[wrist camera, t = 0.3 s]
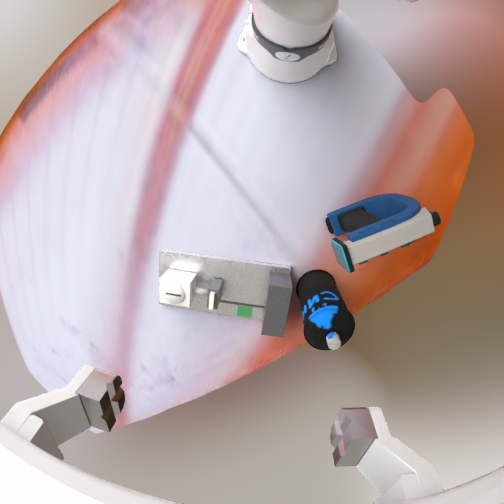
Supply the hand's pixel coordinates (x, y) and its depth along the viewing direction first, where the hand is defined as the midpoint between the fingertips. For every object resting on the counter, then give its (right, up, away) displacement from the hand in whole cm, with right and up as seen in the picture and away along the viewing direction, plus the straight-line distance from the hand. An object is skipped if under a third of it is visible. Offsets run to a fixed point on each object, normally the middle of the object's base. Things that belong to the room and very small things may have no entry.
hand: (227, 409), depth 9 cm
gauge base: (-5, -1, +50) cm, 50 cm away
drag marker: (-6, -1, +48) cm, 49 cm away
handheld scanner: (+21, +13, +44) cm, 51 cm away
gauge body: (-12, -1, +48) cm, 50 cm away
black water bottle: (+14, -2, +49) cm, 51 cm away
